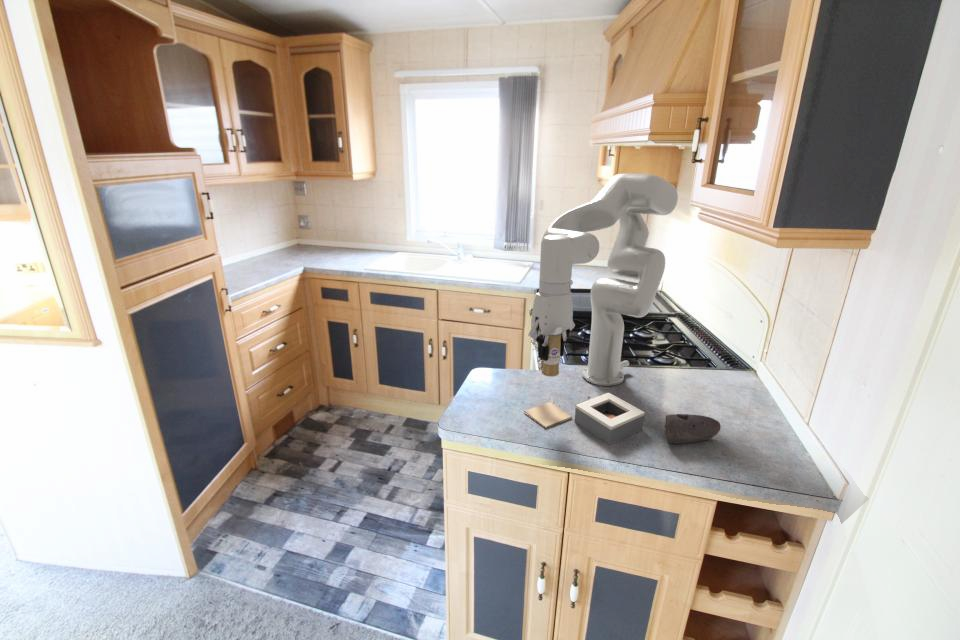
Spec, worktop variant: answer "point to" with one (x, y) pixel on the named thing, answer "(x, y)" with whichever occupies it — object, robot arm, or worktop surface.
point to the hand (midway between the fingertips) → (550, 355)
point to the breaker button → (609, 416)
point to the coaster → (548, 414)
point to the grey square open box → (605, 427)
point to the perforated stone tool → (690, 428)
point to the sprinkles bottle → (553, 354)
